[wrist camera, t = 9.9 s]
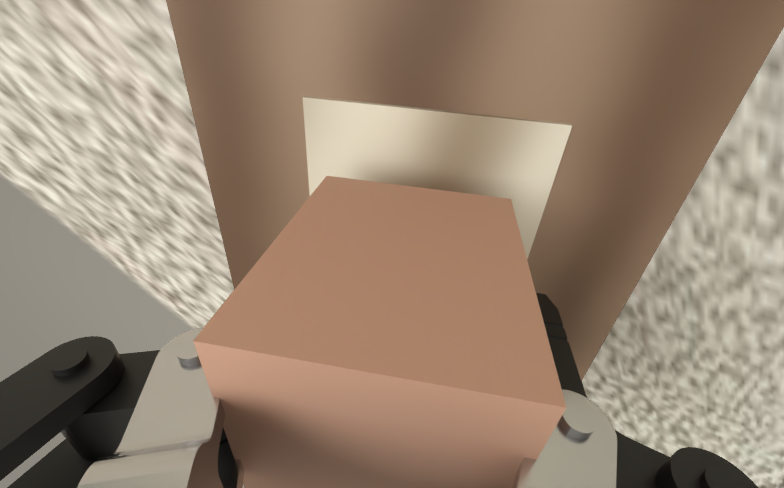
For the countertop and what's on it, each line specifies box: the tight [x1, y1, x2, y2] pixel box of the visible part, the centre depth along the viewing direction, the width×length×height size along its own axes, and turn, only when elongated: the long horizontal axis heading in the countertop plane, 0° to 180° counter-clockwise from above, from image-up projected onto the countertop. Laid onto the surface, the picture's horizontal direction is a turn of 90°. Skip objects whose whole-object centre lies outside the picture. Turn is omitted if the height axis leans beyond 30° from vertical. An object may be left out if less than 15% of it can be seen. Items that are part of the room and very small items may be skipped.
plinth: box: [166, 0, 784, 381], centre depth 14 cm, size 16×20×3 cm
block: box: [193, 176, 566, 488], centre depth 9 cm, size 5×5×6 cm
